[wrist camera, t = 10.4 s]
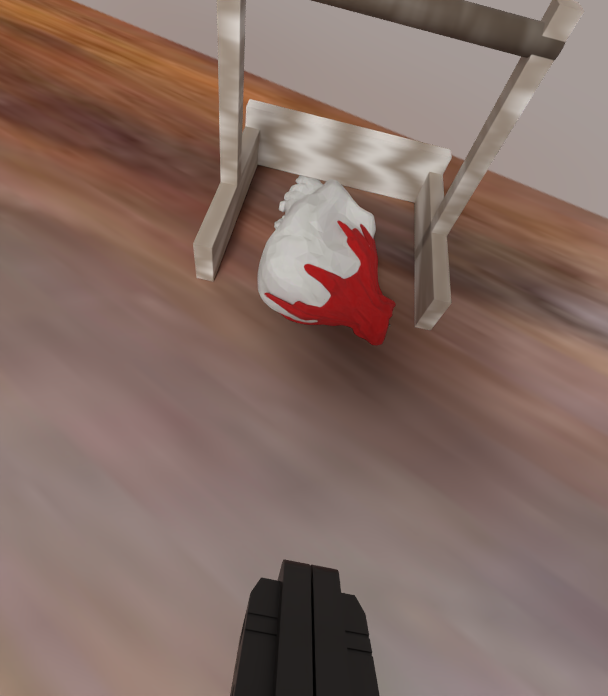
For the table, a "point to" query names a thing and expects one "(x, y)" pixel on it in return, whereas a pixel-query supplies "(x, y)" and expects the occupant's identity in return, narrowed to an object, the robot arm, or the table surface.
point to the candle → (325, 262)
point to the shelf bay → (377, 132)
